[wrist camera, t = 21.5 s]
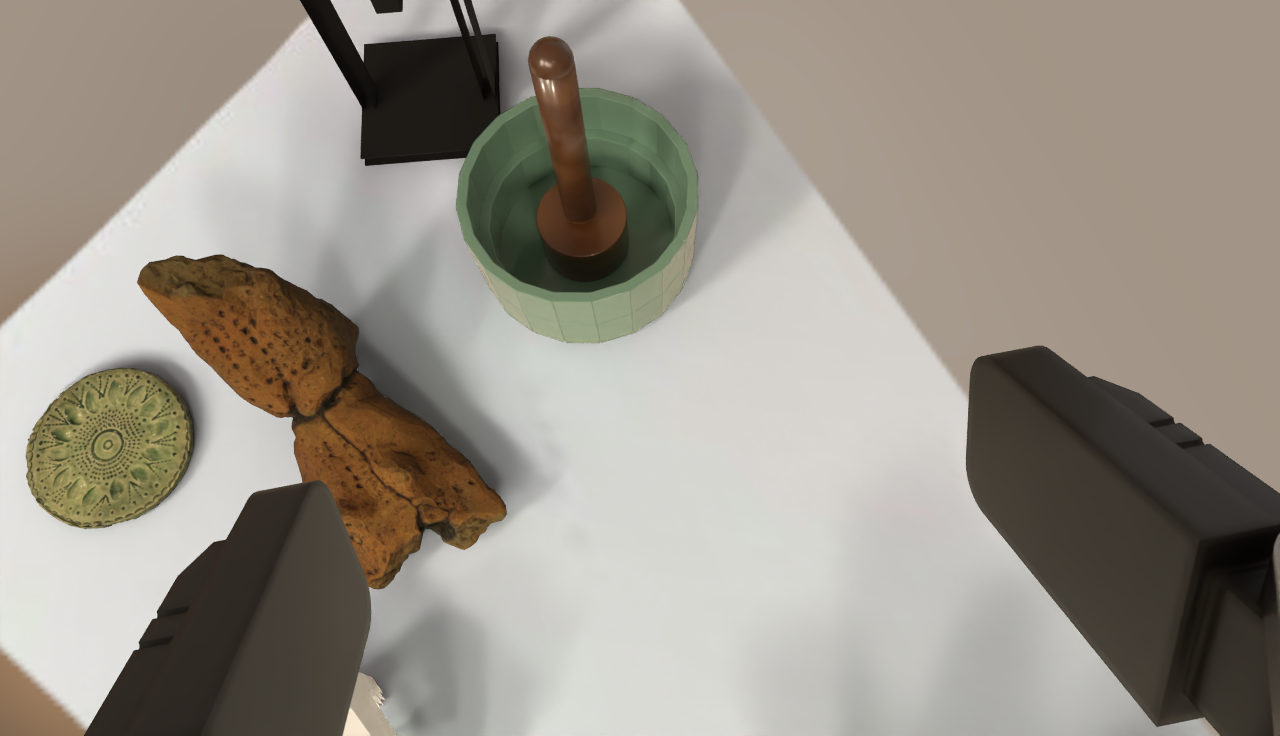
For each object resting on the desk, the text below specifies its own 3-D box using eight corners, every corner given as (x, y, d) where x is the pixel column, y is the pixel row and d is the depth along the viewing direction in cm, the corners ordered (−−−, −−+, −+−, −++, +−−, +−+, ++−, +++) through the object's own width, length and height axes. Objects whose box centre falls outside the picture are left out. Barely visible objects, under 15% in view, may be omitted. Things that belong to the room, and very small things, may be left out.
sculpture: (242, 185, 31) (391, 538, 27) (395, 256, 41) (519, 522, 37) (90, 295, 32) (211, 645, 28) (273, 338, 42) (381, 601, 38)
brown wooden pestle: (629, 205, 42) (614, -8, 28) (628, 282, 41) (610, 100, 26) (547, 205, 42) (488, -8, 28) (542, 281, 41) (478, 100, 27)
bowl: (692, 157, 43) (697, 87, 38) (692, 348, 40) (698, 303, 34) (492, 156, 44) (467, 87, 38) (476, 346, 40) (446, 301, 35)
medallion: (227, 416, 40) (218, 412, 39) (123, 559, 38) (113, 558, 37) (103, 344, 41) (94, 339, 40) (-2, 478, 39) (-15, 476, 38)
